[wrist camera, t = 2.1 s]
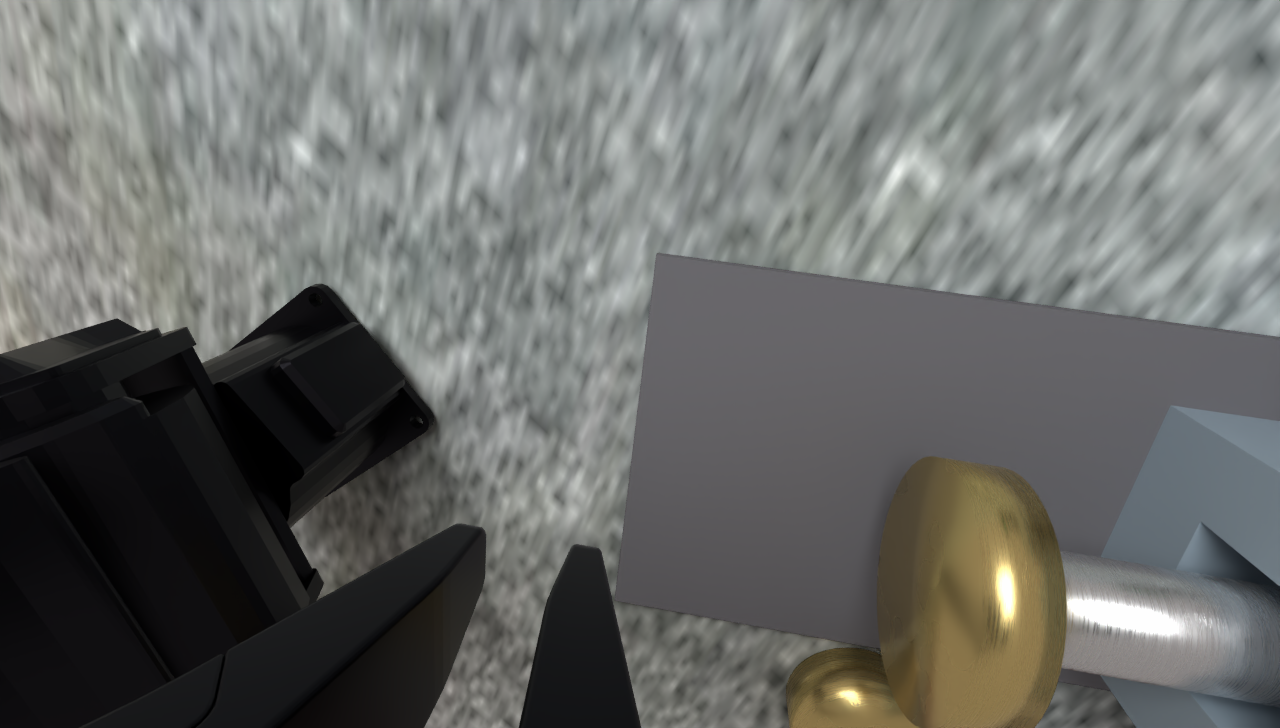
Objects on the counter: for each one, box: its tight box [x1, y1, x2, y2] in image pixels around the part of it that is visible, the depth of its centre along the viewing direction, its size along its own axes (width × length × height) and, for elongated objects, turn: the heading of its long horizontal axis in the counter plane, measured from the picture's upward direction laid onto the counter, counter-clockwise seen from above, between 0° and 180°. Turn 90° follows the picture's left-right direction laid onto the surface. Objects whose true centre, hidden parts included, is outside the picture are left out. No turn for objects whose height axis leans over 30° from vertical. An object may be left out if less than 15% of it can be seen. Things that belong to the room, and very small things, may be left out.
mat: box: [615, 253, 1280, 691], centre depth 22 cm, size 24×14×1 cm, turn 84°
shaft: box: [877, 456, 1280, 728], centre depth 16 cm, size 15×7×7 cm, turn 84°
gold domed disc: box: [786, 648, 919, 728], centre depth 25 cm, size 5×5×2 cm
